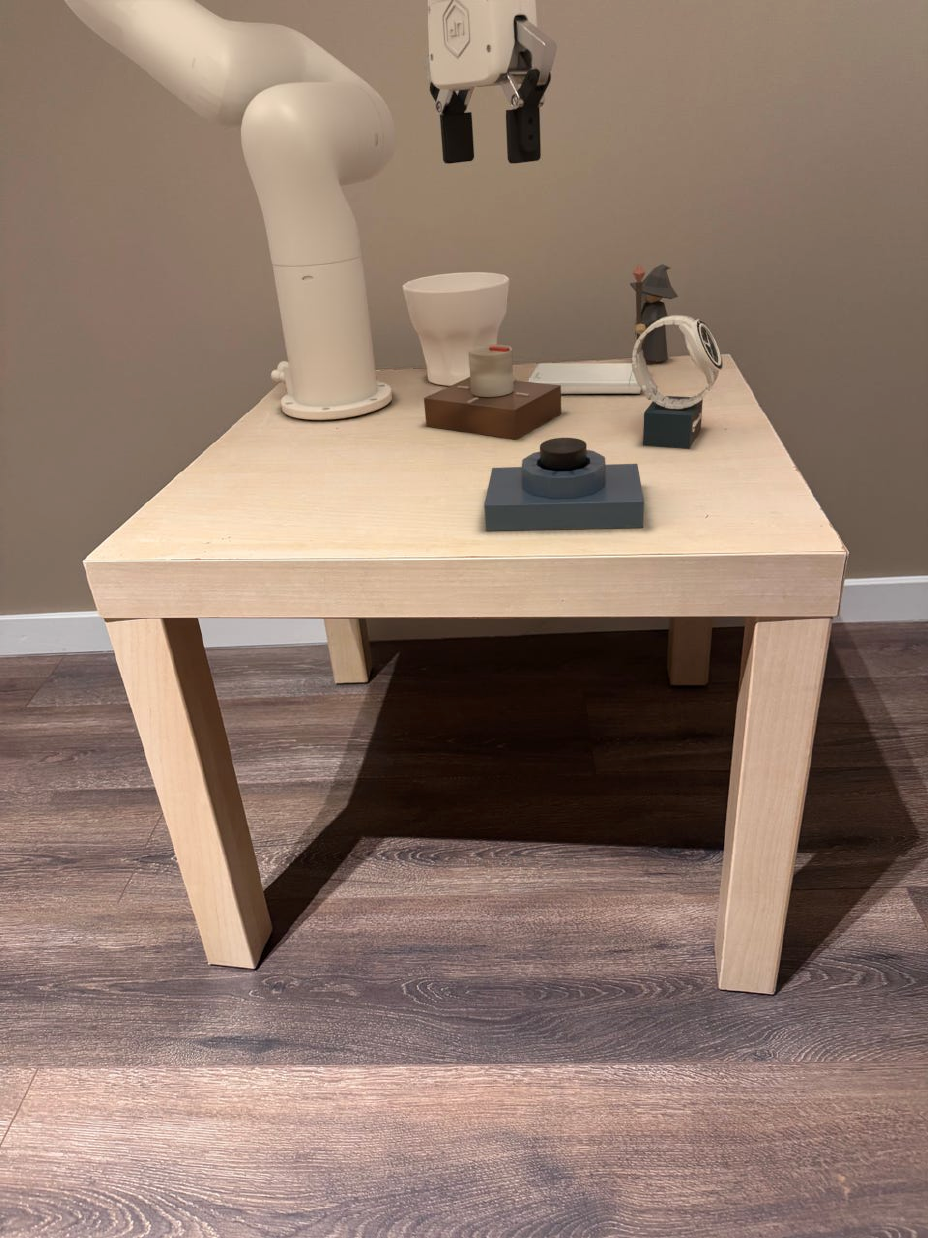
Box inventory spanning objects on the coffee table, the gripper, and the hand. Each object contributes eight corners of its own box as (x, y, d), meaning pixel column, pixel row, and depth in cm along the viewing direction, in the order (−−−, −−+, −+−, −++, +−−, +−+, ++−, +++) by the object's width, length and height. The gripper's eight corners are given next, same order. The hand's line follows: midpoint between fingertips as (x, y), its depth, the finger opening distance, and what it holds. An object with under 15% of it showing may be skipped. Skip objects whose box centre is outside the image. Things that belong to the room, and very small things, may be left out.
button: (539, 475, 69) (539, 453, 69) (541, 459, 73) (540, 438, 72) (586, 474, 69) (586, 452, 68) (586, 457, 72) (586, 436, 71)
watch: (711, 450, 82) (720, 325, 76) (624, 443, 85) (626, 323, 79) (721, 430, 86) (730, 311, 81) (638, 425, 89) (641, 310, 84)
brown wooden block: (426, 426, 94) (423, 396, 92) (474, 402, 100) (472, 373, 99) (516, 439, 88) (515, 408, 87) (561, 413, 94) (560, 383, 93)
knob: (462, 394, 92) (459, 349, 90) (486, 383, 95) (483, 339, 93) (498, 399, 90) (496, 353, 88) (521, 387, 93) (520, 342, 91)
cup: (415, 366, 116) (406, 275, 110) (512, 360, 115) (508, 268, 109) (407, 393, 105) (396, 294, 99) (514, 387, 104) (509, 287, 99)
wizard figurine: (629, 355, 113) (631, 253, 107) (674, 354, 112) (679, 251, 106) (627, 373, 106) (629, 265, 100) (676, 372, 105) (681, 262, 99)
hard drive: (526, 381, 100) (640, 380, 97) (538, 362, 107) (645, 360, 104) (527, 396, 101) (640, 395, 98) (539, 376, 108) (644, 374, 105)
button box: (485, 531, 70) (482, 482, 68) (493, 492, 77) (491, 446, 75) (643, 527, 68) (644, 478, 66) (636, 488, 75) (638, 442, 73)
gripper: (382, -58, 77) (403, 166, 85) (507, -102, 64) (517, 166, 73) (454, -57, 80) (468, 158, 89) (586, -98, 68) (587, 157, 76)
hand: (490, 161), depth 81 cm, fingers open, 9 cm apart
